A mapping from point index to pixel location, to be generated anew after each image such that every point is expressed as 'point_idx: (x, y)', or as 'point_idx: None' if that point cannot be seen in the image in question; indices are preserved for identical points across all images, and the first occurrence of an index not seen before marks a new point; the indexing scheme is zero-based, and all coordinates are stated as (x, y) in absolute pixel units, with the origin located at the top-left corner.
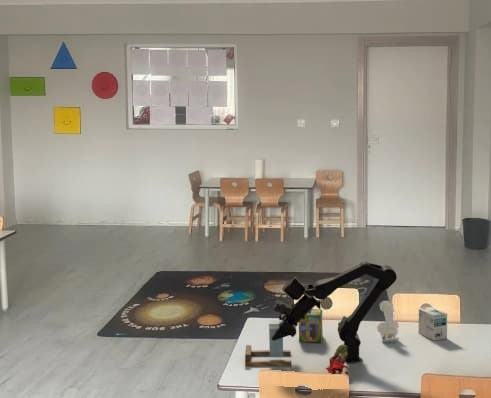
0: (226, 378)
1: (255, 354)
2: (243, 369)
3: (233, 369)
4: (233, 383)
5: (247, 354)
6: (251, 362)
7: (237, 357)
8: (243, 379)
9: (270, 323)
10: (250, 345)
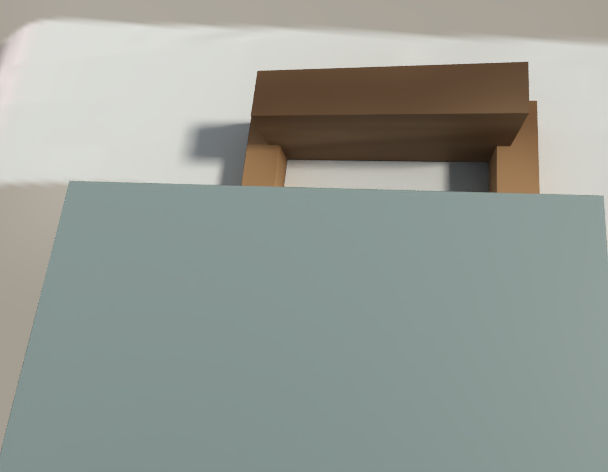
0: (93, 28)
1: (490, 192)
2: (205, 113)
3: (217, 52)
4: (19, 71)
5: (255, 90)
6: (248, 153)
7: (448, 58)
8: (54, 121)
9: (131, 232)
10: (512, 104)
